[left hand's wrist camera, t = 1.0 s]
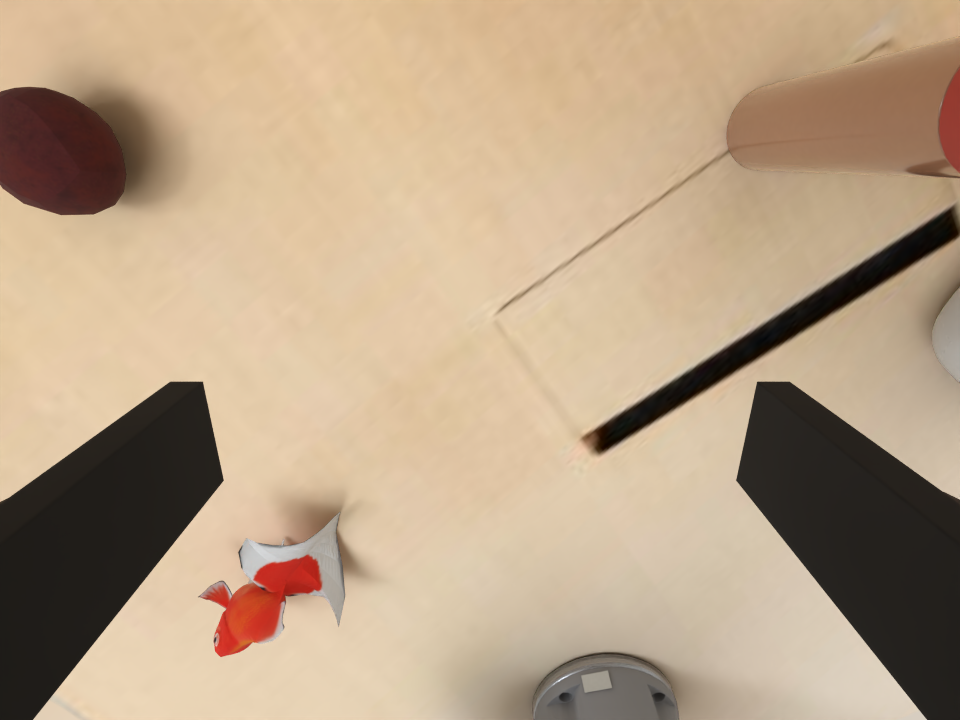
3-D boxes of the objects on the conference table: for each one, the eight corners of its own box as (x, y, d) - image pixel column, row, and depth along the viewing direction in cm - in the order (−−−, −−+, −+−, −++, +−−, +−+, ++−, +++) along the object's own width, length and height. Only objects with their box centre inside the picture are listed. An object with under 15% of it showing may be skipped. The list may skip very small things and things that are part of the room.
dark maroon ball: (87, 71, 34) (-6, 50, 28) (173, 174, 37) (106, 177, 30) (15, 138, 36) (-90, 133, 29) (102, 233, 38) (23, 248, 31)
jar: (715, 110, 35) (968, 57, 17) (794, 69, 34) (1148, -33, 16) (739, 184, 37) (991, 208, 19) (814, 146, 36) (1154, 134, 18)
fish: (144, 575, 44) (149, 675, 36) (299, 455, 47) (333, 524, 40) (230, 623, 50) (249, 717, 43) (360, 515, 54) (399, 584, 46)
